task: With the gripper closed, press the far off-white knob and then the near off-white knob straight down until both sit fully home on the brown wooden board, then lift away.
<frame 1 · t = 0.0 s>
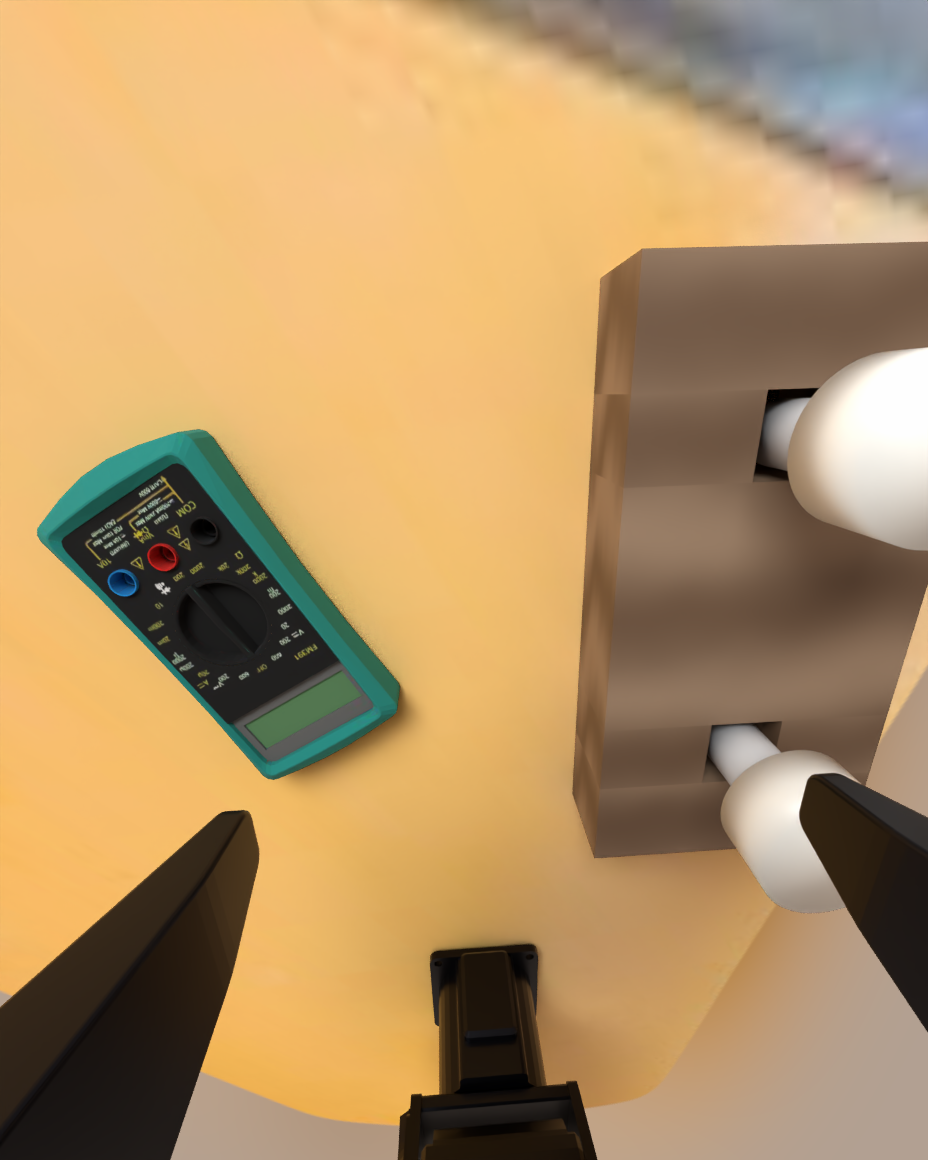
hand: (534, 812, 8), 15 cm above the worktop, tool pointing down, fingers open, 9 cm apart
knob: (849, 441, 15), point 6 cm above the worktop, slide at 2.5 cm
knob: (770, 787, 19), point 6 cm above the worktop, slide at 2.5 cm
digital multimeter: (252, 605, 23), on the worktop
brown wooden board: (714, 577, 23), on the worktop
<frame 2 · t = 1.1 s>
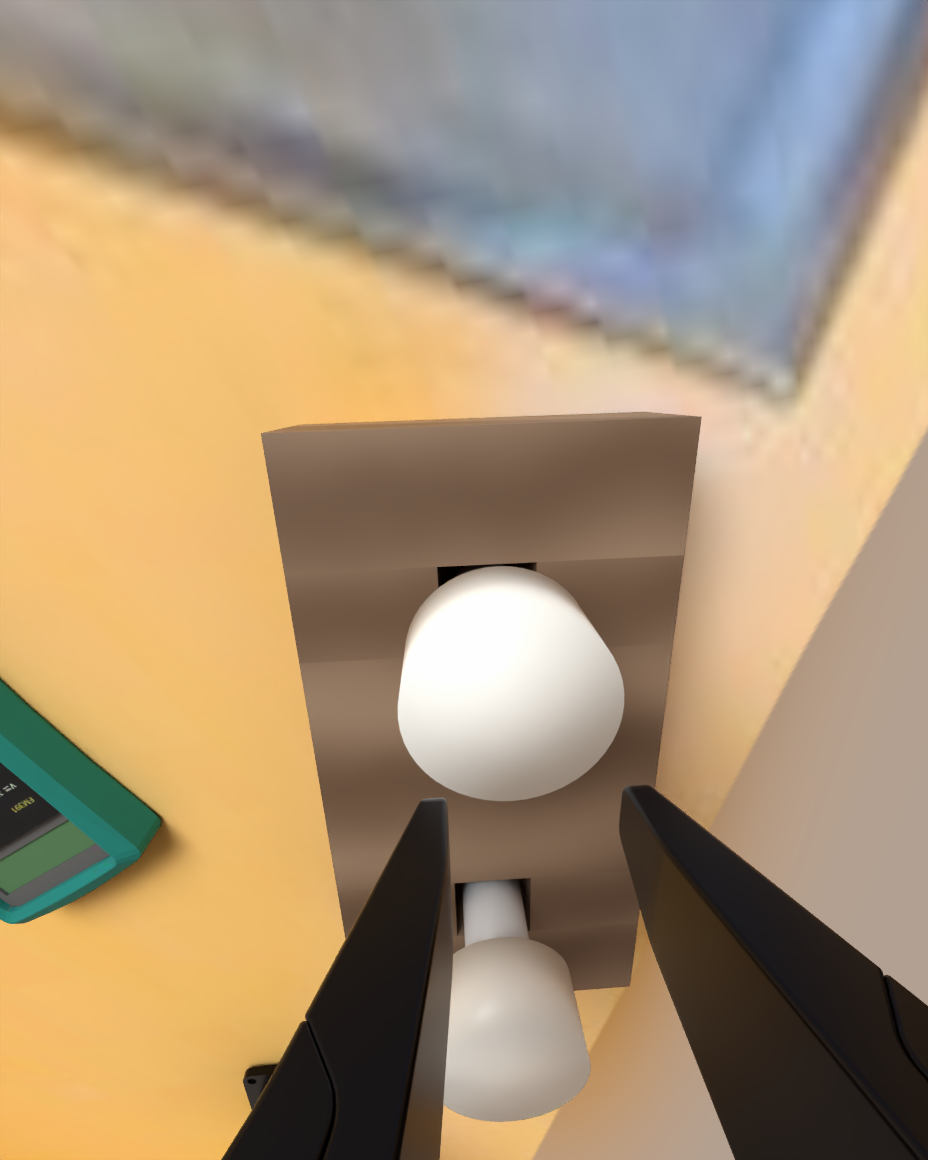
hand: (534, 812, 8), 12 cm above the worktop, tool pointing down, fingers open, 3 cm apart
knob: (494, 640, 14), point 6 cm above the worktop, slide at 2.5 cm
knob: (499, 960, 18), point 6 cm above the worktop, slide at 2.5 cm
brown wooden board: (481, 711, 22), on the worktop
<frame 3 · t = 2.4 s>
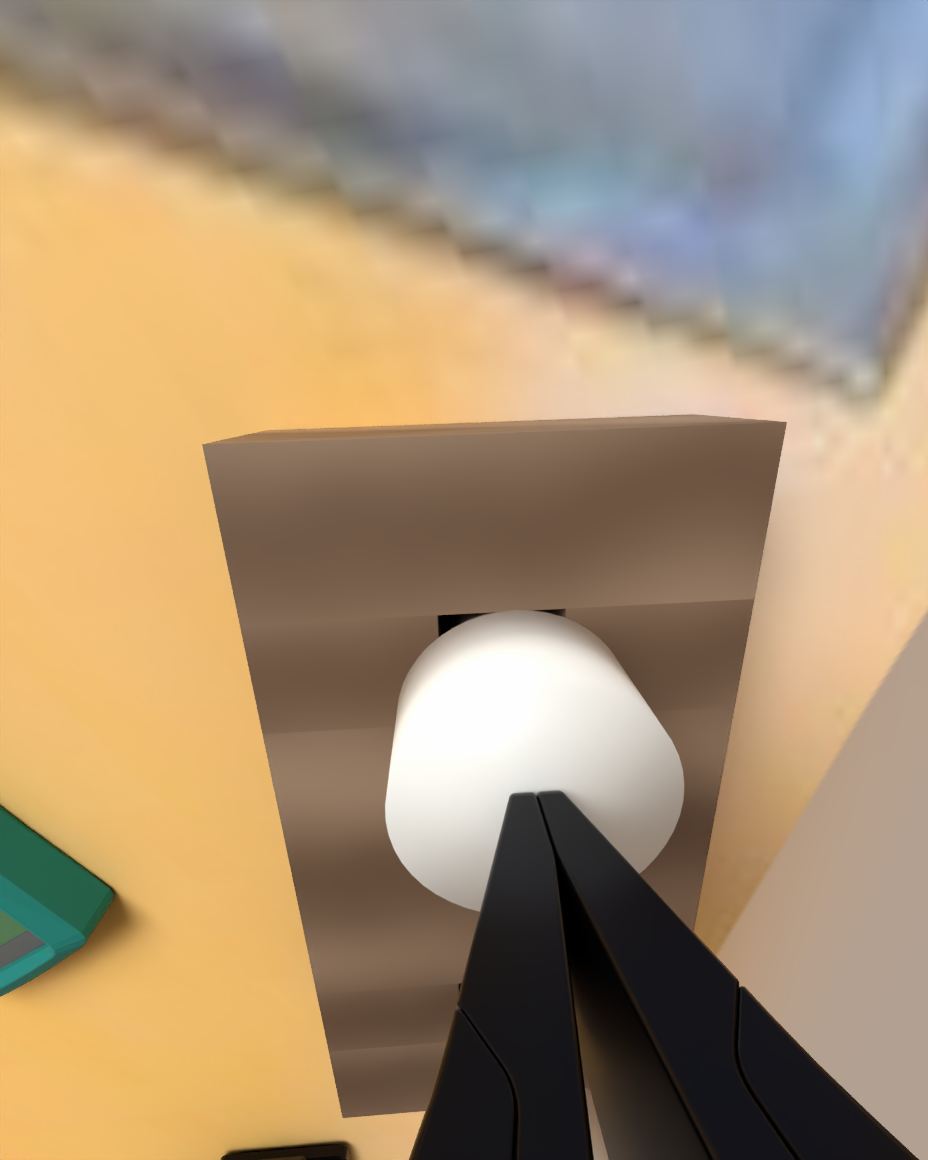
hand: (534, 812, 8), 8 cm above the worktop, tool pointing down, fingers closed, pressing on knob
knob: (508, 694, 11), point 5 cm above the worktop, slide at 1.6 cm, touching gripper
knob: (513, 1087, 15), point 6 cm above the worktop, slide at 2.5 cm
brown wooden board: (489, 768, 18), on the worktop
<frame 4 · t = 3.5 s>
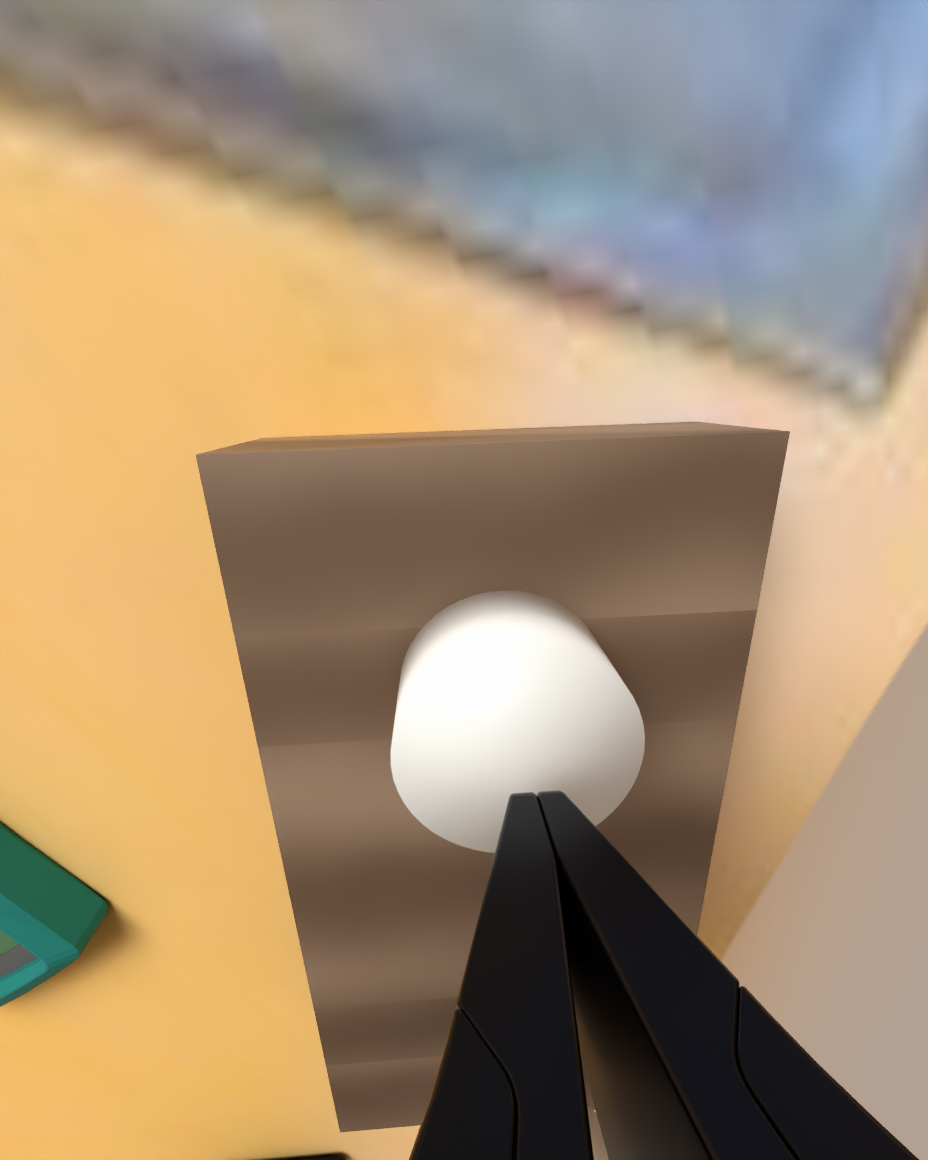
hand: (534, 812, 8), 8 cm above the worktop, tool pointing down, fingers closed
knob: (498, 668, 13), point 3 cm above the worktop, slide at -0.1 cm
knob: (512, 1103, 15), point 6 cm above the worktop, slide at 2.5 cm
brown wooden board: (489, 778, 18), on the worktop
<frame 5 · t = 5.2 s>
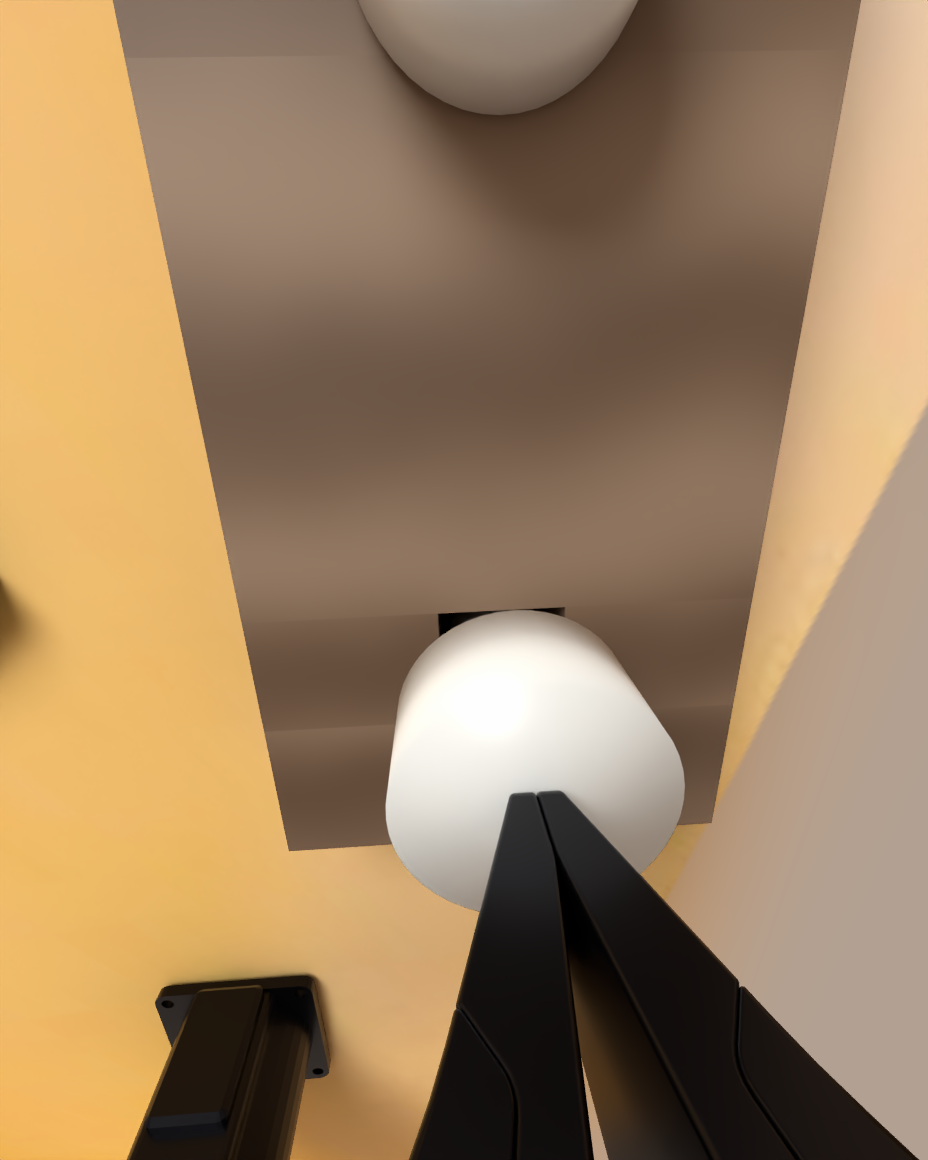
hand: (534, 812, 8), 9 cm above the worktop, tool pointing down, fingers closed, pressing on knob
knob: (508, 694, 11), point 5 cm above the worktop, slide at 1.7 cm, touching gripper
brown wooden board: (482, 384, 14), on the worktop
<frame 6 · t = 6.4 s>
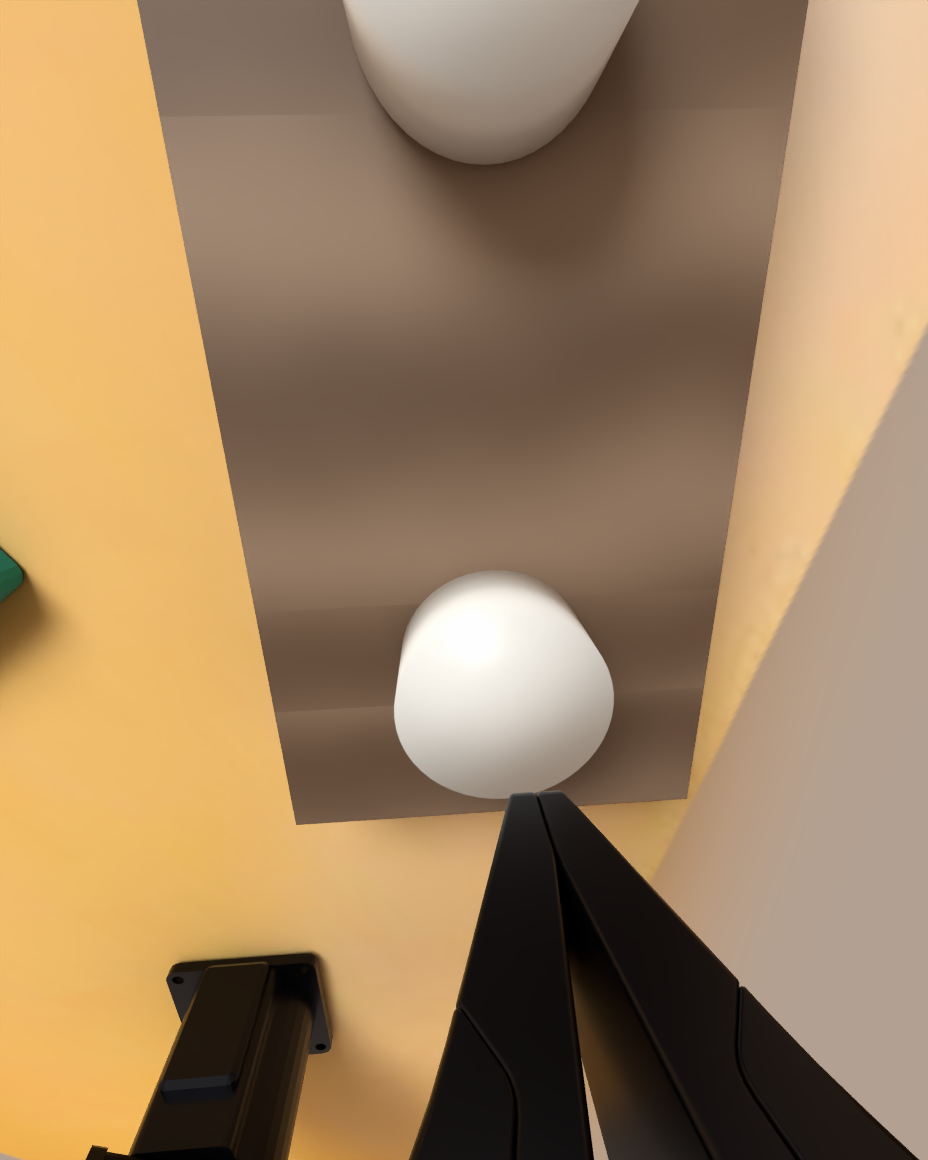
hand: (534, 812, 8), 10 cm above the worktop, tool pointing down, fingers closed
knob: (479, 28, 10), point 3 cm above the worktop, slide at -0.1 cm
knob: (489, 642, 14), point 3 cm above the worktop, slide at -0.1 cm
brown wooden board: (474, 394, 15), on the worktop
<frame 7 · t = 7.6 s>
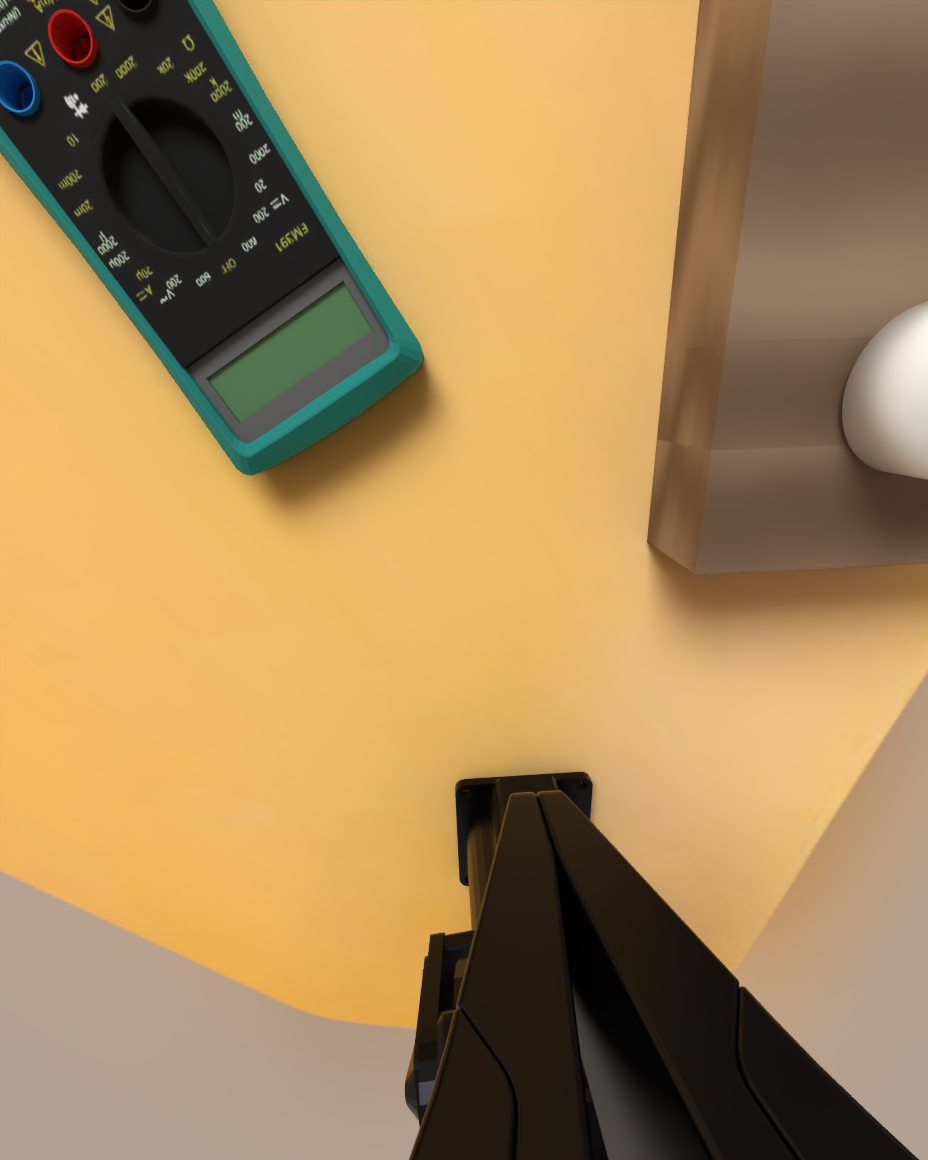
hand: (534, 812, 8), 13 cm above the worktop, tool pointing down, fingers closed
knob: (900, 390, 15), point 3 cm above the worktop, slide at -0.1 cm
digital multimeter: (218, 225, 16), on the worktop
brown wooden board: (863, 178, 16), on the worktop
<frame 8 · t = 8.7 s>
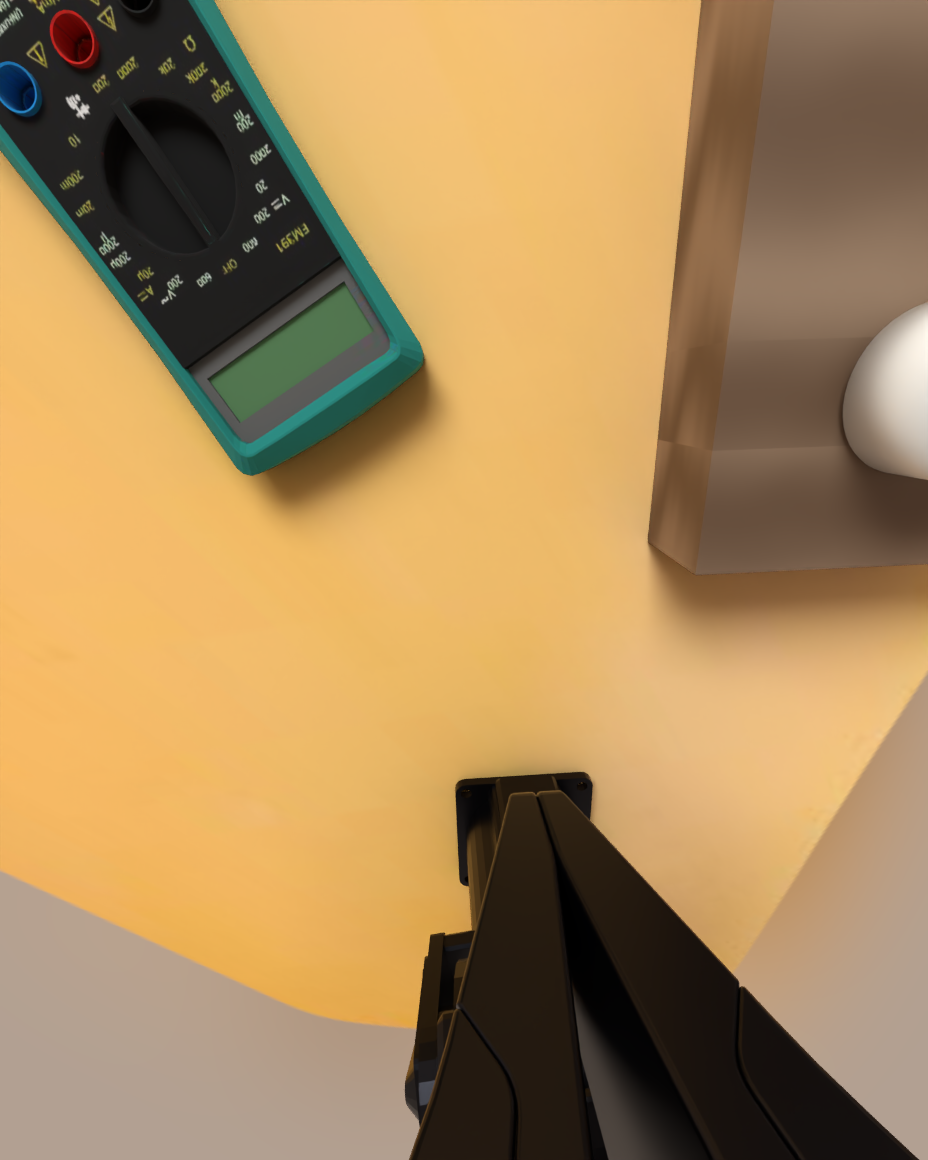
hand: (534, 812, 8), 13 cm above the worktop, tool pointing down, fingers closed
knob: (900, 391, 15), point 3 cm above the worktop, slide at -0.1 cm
digital multimeter: (219, 226, 16), on the worktop
brown wooden board: (864, 179, 16), on the worktop
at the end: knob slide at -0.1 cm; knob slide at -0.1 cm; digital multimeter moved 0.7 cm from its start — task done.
